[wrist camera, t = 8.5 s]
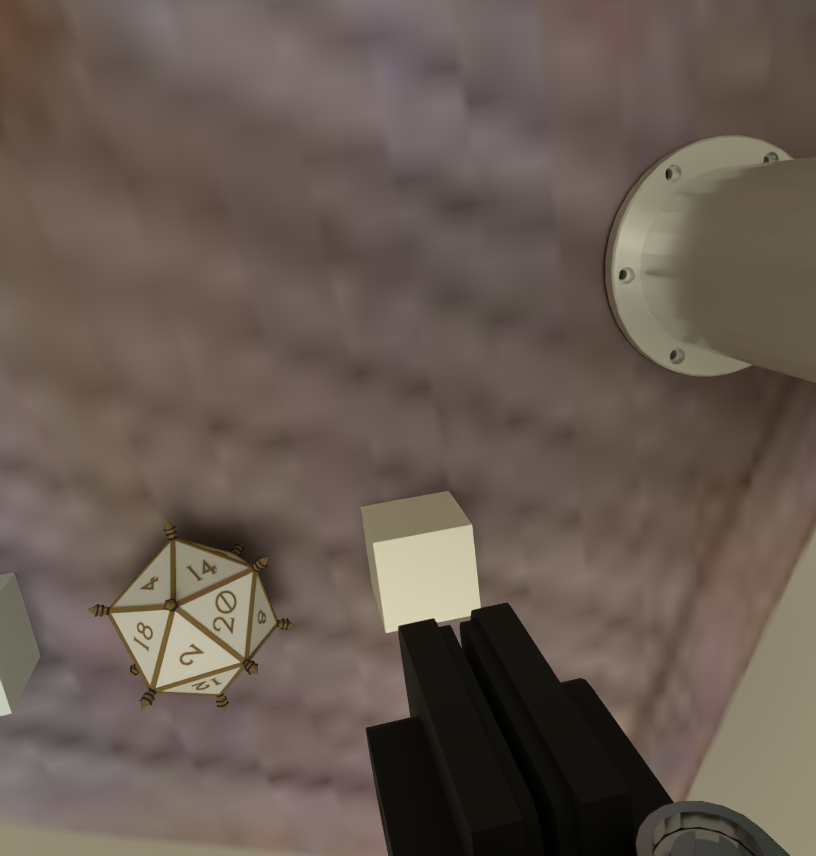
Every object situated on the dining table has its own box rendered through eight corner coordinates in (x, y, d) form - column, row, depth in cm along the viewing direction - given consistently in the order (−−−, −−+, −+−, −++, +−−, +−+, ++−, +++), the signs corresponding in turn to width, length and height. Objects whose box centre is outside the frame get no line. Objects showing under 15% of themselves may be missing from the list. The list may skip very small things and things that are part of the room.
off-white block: (448, 490, 42) (472, 524, 37) (457, 570, 44) (481, 613, 39) (360, 506, 41) (373, 543, 37) (372, 587, 43) (385, 633, 38)
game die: (183, 528, 44) (125, 477, 34) (321, 577, 43) (299, 538, 33) (111, 682, 41) (26, 672, 31) (258, 738, 40) (215, 746, 30)
